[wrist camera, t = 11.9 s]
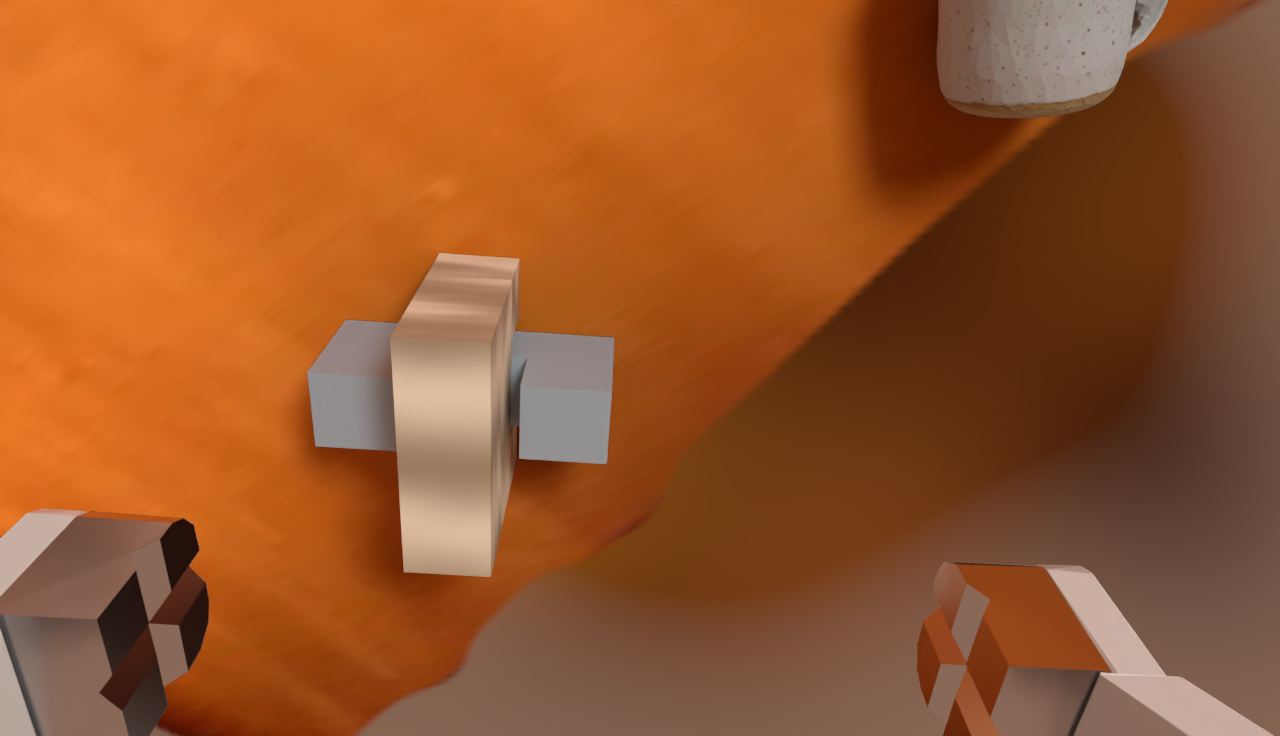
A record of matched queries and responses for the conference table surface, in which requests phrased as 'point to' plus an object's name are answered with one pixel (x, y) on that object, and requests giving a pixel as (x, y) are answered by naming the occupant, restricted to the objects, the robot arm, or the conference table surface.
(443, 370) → the wooden notched block
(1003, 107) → the ceramic mug
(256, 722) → the conference table surface
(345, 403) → the grey notched block
